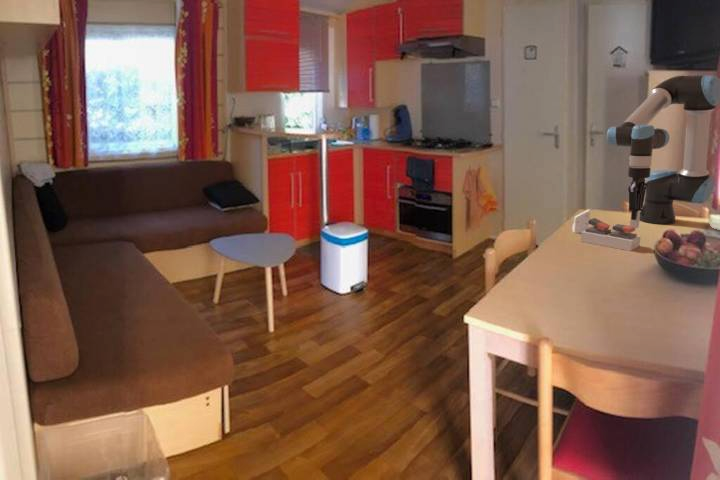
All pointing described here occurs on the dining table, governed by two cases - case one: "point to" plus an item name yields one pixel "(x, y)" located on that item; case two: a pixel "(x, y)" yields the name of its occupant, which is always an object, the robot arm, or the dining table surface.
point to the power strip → (611, 238)
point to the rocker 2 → (623, 228)
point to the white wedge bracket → (581, 222)
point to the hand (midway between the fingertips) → (634, 227)
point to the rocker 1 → (598, 224)
